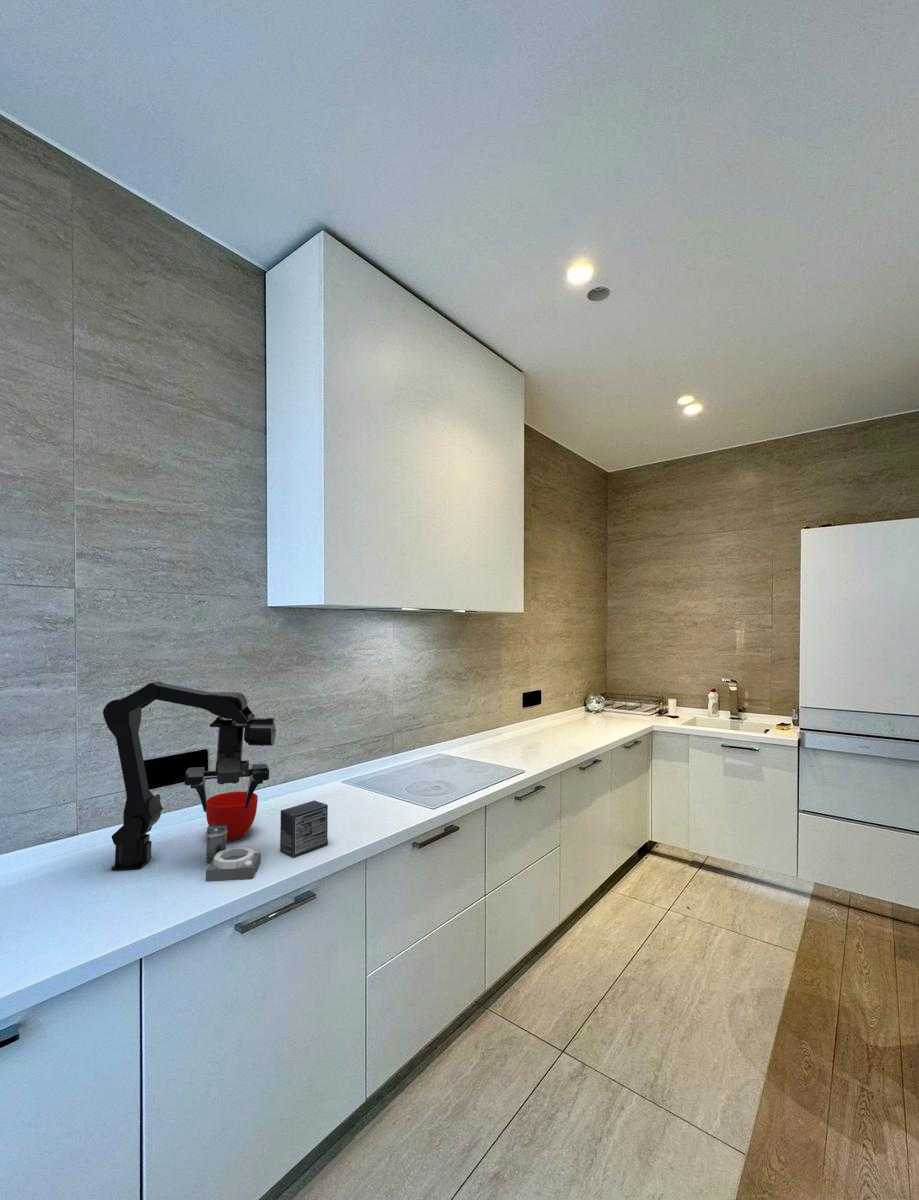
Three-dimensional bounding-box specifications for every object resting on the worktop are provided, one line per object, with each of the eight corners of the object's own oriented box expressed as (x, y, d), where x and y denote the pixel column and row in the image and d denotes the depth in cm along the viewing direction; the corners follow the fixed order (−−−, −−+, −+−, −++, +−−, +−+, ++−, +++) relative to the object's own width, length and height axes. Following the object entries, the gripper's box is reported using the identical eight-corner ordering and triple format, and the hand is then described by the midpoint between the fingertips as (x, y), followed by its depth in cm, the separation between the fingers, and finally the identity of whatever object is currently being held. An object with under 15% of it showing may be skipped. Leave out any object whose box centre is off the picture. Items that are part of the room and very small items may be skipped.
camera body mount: (205, 881, 120) (205, 863, 120) (216, 865, 128) (217, 848, 129) (252, 879, 122) (252, 860, 122) (260, 863, 130) (260, 846, 130)
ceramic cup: (272, 823, 156) (272, 788, 156) (241, 847, 139) (242, 807, 139) (229, 821, 157) (230, 786, 158) (194, 844, 140) (195, 805, 141)
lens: (202, 865, 128) (203, 830, 129) (208, 856, 133) (209, 823, 134) (223, 864, 129) (224, 830, 129) (228, 855, 134) (229, 822, 134)
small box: (313, 838, 145) (314, 799, 145) (328, 845, 141) (329, 804, 141) (278, 851, 137) (279, 809, 137) (293, 858, 133) (294, 815, 133)
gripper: (185, 754, 122) (180, 825, 121) (272, 750, 129) (268, 817, 128) (188, 744, 132) (184, 809, 131) (269, 740, 139) (265, 802, 138)
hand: (225, 809), depth 132 cm, fingers open, 9 cm apart
